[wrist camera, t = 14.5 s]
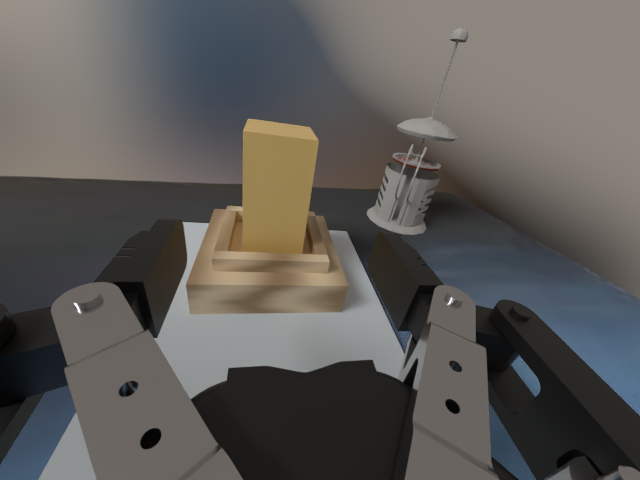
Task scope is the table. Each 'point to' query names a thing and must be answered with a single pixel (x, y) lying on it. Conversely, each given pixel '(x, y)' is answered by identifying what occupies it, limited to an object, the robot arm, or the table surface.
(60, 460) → the white rectangular board
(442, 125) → the french press
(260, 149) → the ochre pillar
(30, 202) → the table surface
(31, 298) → the table surface
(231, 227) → the beech base slab
